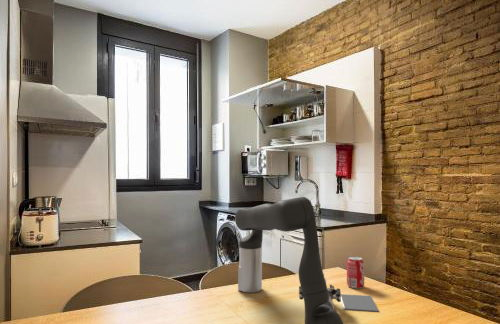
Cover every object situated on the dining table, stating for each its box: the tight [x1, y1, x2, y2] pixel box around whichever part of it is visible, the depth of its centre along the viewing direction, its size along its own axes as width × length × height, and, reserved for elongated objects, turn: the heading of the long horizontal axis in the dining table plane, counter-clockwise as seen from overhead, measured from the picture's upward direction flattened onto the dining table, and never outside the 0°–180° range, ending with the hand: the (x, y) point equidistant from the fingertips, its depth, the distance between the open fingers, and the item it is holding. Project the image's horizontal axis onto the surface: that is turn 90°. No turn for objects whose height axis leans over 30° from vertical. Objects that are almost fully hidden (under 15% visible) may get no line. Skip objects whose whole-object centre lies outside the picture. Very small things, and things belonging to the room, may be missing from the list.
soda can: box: [346, 255, 365, 290], centre depth 142 cm, size 7×7×12 cm
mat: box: [340, 293, 380, 313], centre depth 124 cm, size 12×14×1 cm
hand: (318, 286), depth 124 cm, fingers open, 8 cm apart
